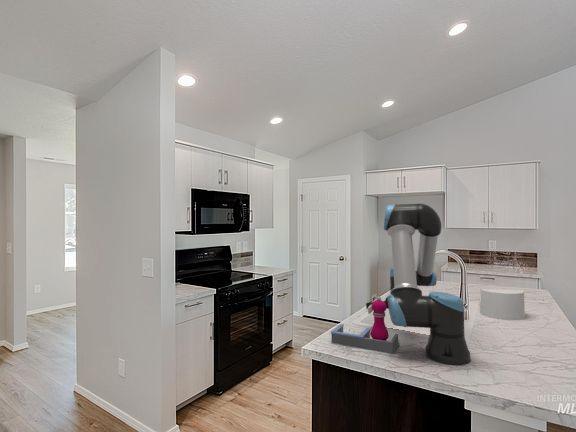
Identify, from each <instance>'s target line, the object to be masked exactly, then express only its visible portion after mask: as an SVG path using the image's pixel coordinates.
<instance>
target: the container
mask: <svg viewBox="0 0 576 432" xmlns="http://www.w3.org/2000/svg"><path fill="white" fill-rule="evenodd" d="M479 314H481V316H484V317H487V318H491V319H495V320H502V321H521V320H524V319H525V318H526V315H525V291H524V290H523V289H500V288H499V289H497V288H496V289H495V288H494V289H493V288H492V289H491V288H480V299H479Z"/></svg>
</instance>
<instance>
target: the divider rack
mask: <svg viewBox="0 0 576 432" xmlns="http://www.w3.org/2000/svg"><path fill="white" fill-rule="evenodd" d="M344 326H345V324H341V323H340V324H338V325H337V326H336V327H335V328H334V329H332V330H331V331H330V334H331V343H332V344H336V345H342V346H347V347H354V348H359V349H366V350H370V351H377V352H382V353H388V354H394V353H395V350H396V349H397V347H398V346H399V344H400V343H399V342H400V341H399V340H400V339H399V333H395V334H393V337H392V338H391V340H389V341H388V340H387V341H384V340H377V339H373V338H372V337H371V335H370V334H371V328H370V327H365V329H363V330H362V332H361V333H360V334H354V333H349V332H344Z"/></svg>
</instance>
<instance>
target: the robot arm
mask: <svg viewBox="0 0 576 432" xmlns="http://www.w3.org/2000/svg"><path fill="white" fill-rule="evenodd" d="M383 230H384V231H386V232H387V235H388V236H389V237H390V239H391V241H390V242H391V252H392V253H391V255H392V266H391V267H390V269H389V270H390V271H389V280H390V281H389V282H390V285H389V286H390V290H389V291H390V294H388V295H387V297H386V298H385V300H383V301H384V302H385V304H386V307H387V308H386V310H388V313H389V317H390V321H391V323H392V324H393V326H395V327H396V326H397V327H403V328H408V327H409V328H426V329H427V328H428V329H429V330H430V331H429V337H428V339H427V344H426V345H425V355H426V356H427V358H429V359H431V360H433V361H435V362H437V363H440V364H446V365H454V366H455V365H457V366H458V365H460V366H461V365H466V364H468V363H470V362H471V351H470V350H469V348H468V347H469V346H468V345H467V342H466V339H465V307H464V306H465V305H464V301H463V299H462V298H461V297H459V296H458V295H455V294H451V293H448V292H442V291H430V292H429V293H428V295H423V292H422V290H421V289H420V288H419V287H435V286H436V285H437V283H438V282H437V280H438V279H437V272H436V271H434V264H435V258H436V251H437V244H438V238H439V235H440V234H441V232H442V221H441V218H440V216H439V213H437V211H436V210H435V209H434V208H433V207H431V206H430V205H428V204H425V203H406V204H405V203H402V204H397V203H395V204H388V205H386V206H385V211H384V222H383ZM416 231H418V233H419V242H418V251H417V253H418V254H417V262H416V264H415V255H414V242H413V235H414V234H415V233H416ZM372 303H373V301H370V302H366V303H365V308H366V309H367V315H368V314H369V315H370V314H371V313H373V312H374V311H373V310H372V307H371V305H372Z"/></svg>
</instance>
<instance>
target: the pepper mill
mask: <svg viewBox="0 0 576 432" xmlns="http://www.w3.org/2000/svg"><path fill="white" fill-rule="evenodd" d="M384 301H385V300H382V297H381V296H379V295H378V296H377V297H376V300H374V301H372V302H373V303H372V305H371V307H372V310H373V311H372V316H373V318H374V319H373V325H372V327H371V328H370V338H371V339H377V340H384V341H388V339H389V335H390V333H389V330H388V328H387V327H386V324H385V317H386V310H387V309H386V308H387V307H386V304H385V302H384Z"/></svg>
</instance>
